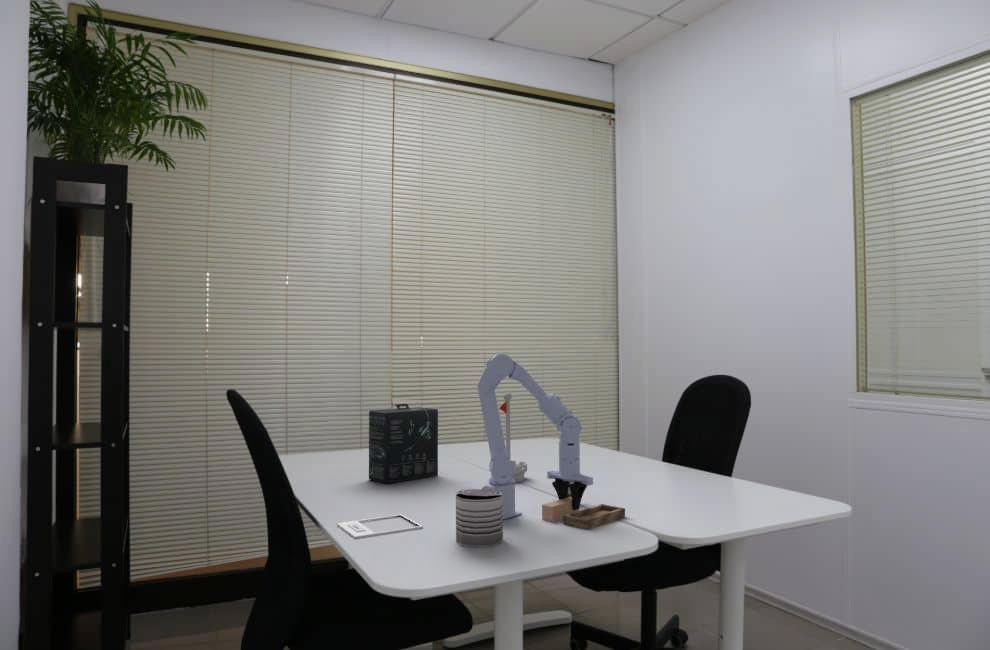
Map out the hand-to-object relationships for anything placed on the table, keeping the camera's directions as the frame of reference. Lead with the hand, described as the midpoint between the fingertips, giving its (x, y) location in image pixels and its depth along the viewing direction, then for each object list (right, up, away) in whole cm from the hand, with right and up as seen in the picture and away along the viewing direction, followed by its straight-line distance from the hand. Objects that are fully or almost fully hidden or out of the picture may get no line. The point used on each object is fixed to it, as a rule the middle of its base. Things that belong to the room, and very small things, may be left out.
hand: (569, 508), depth 188 cm
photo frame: (-51, -2, -12) cm, 52 cm away
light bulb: (+1, -2, +13) cm, 13 cm away
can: (-24, -1, -25) cm, 35 cm away
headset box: (-53, -4, +52) cm, 75 cm away
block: (-3, -2, -3) cm, 4 cm away
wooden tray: (+6, -1, -8) cm, 10 cm away
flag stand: (-16, -3, +48) cm, 51 cm away
